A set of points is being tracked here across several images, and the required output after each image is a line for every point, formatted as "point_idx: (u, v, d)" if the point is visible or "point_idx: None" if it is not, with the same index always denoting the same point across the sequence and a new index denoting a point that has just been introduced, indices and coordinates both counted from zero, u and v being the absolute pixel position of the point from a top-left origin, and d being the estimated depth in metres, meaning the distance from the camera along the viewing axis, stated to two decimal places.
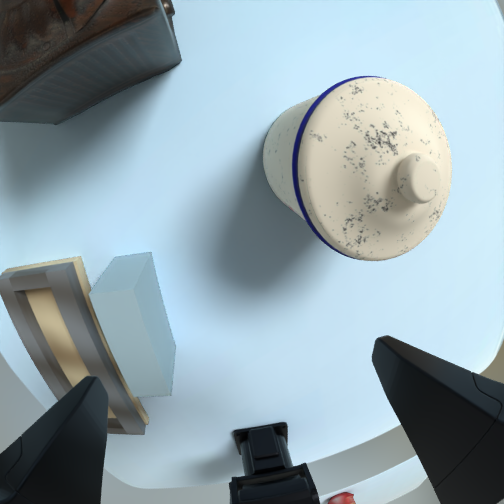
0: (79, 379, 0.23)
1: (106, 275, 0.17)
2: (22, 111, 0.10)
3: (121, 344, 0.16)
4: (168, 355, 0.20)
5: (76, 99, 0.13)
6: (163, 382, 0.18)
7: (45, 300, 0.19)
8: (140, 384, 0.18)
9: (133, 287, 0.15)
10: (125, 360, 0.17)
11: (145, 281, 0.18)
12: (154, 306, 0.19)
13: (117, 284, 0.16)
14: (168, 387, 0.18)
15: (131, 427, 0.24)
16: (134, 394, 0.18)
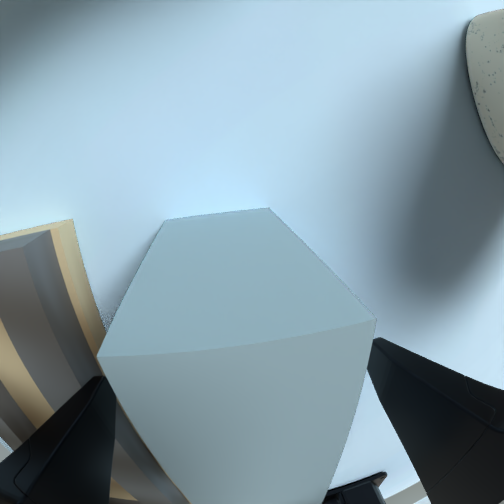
0: None
1: (161, 263, 0.05)
2: None
3: (233, 491, 0.04)
4: None
5: None
6: None
7: None
8: None
9: (360, 309, 0.03)
10: None
11: None
12: None
13: (247, 296, 0.04)
14: None
15: None
16: None
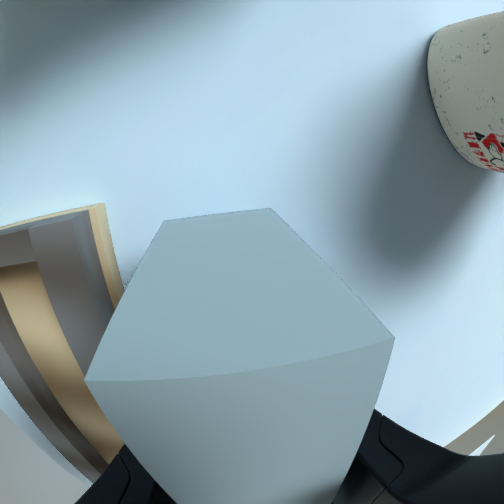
0: (91, 423, 0.13)
1: (157, 270, 0.04)
2: None
3: None
4: None
5: None
6: None
7: (29, 292, 0.10)
8: None
9: (377, 327, 0.03)
10: None
11: None
12: None
13: (252, 311, 0.03)
14: None
15: None
16: None
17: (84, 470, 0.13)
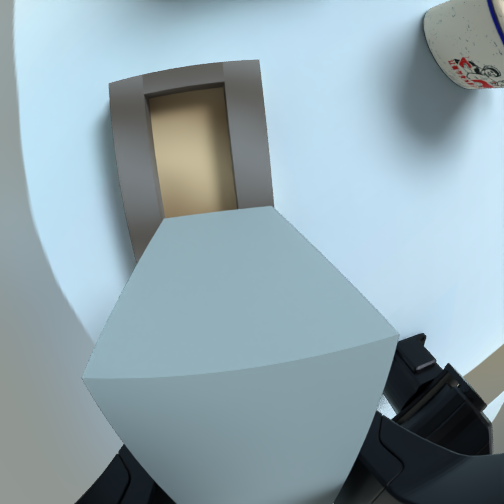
0: None
1: (157, 267, 0.04)
2: None
3: None
4: None
5: None
6: None
7: (187, 121, 0.15)
8: None
9: (381, 322, 0.03)
10: None
11: None
12: None
13: (252, 307, 0.03)
14: None
15: None
16: None
17: None
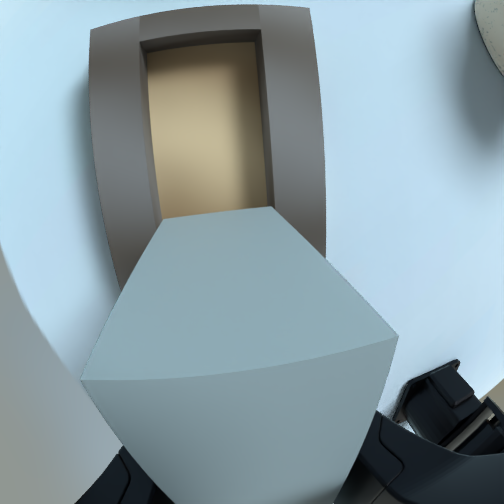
0: None
1: (156, 268, 0.04)
2: None
3: None
4: None
5: None
6: None
7: (200, 85, 0.10)
8: None
9: (380, 325, 0.03)
10: None
11: None
12: None
13: (252, 309, 0.03)
14: None
15: None
16: None
17: None
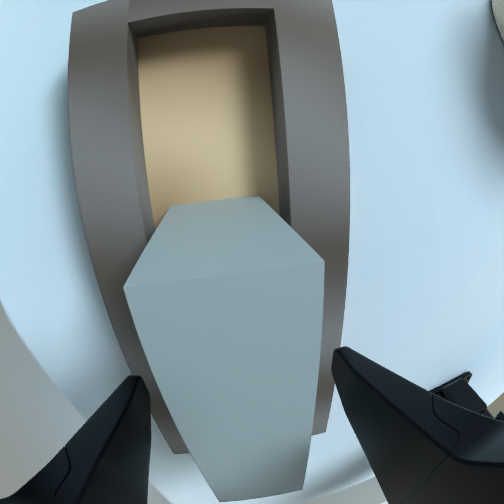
0: None
1: (169, 234, 0.06)
2: None
3: (224, 433, 0.05)
4: None
5: None
6: (299, 477, 0.07)
7: (201, 74, 0.08)
8: (244, 488, 0.07)
9: (314, 255, 0.04)
10: (224, 459, 0.06)
11: None
12: None
13: (233, 250, 0.05)
14: None
15: None
16: (222, 499, 0.07)
17: (170, 426, 0.11)
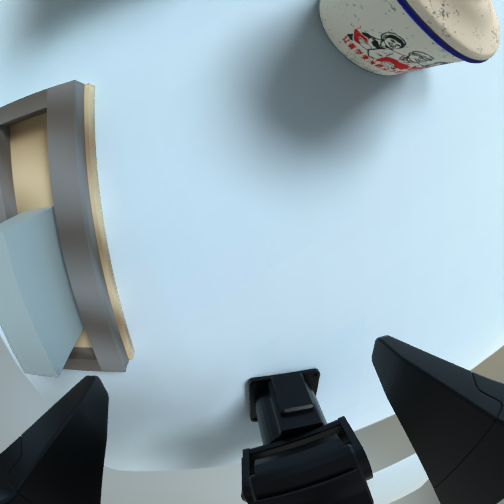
0: None
1: None
2: None
3: (1, 303, 0.11)
4: (64, 330, 0.15)
5: None
6: (46, 358, 0.12)
7: (31, 144, 0.13)
8: (26, 358, 0.12)
9: (5, 231, 0.10)
10: (7, 325, 0.11)
11: (31, 232, 0.12)
12: (45, 266, 0.14)
13: None
14: (54, 366, 0.13)
15: (108, 357, 0.18)
16: (24, 369, 0.12)
17: None
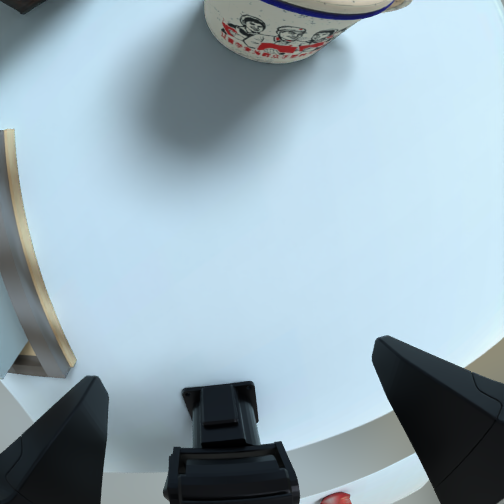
0: None
1: None
2: None
3: None
4: (8, 340, 0.15)
5: None
6: None
7: None
8: None
9: None
10: None
11: None
12: None
13: None
14: None
15: (49, 364, 0.18)
16: None
17: None
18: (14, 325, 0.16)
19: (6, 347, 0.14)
